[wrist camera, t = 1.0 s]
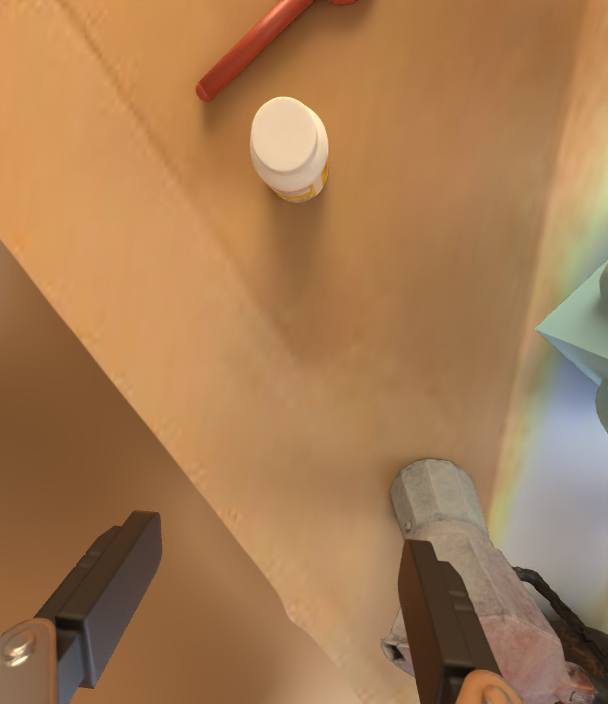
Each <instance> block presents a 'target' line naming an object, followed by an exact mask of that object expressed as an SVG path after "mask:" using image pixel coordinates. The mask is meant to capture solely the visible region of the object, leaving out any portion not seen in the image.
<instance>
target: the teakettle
mask: <svg viewBox="0 0 608 704" xmlns="http://www.w3.org/2000/svg"><path fill="white" fill-rule="evenodd" d="M535 330H536V331H537V332H539V333H540V334H541V335H542V336H543V337H544V338H545V339H546V340H547V341H549V342H550V343H551V344H552V345H553V346H554V347H555V348H556V349H558V350H559V351H560V352H561V353H562V354H563V355H564V356H565V357H566V358H568V359H569V360H570V361H571V362H572V363H573V364H574V365H575V366H577V367H578V368H579V369H580V370H581V371H582V372H583V373H584V374H586V375H587V376H588V377H589V378H590V379H591V380H592V381H593V382H595V383H596V384H597V385H598V386H599V389H598V391H597V396H596V400H595V401H596V410H597V414H598V417H599V419H600V422H601V423H602V425H603V427H604V428H605V430H606V431H607V433H608V260H607V261H606V262H605V263H604V264H602V265H601V266H600V267H599V268H598V269H597V270H596V271H595V272H594V273H593V274H592V275H591V276H590V277H589V278H588V279H587V280H585V281H584V282H583V283H582V284H581V285H580V286H579V287H578V288H577V289H576V290H575V291H574V292H573V293H572V294H571V295H570V296H569V297H567V298H566V299H565V300H564V301H563V302H562V303H561V304H560V305H559V306H558V307H557V308H556V309H555V310H554V311H553V312H551V313H550V314H549V315H548V316H547V317H546V318H545V319H544V320H543V321H542V322H541V323H540V324H539V325H538V326H537V327H536V328H535Z"/></svg>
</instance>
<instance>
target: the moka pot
mask: <svg viewBox="0 0 608 704" xmlns="http://www.w3.org/2000/svg"><path fill="white" fill-rule="evenodd" d="M390 497H391V500H392V504H393V507H394V511H395V514H396V518H397V521H398V524H399V527H400V530H401V533H402V536H403V539H404V542H405V539H415V540H425V541H430V542H431V543H432V545H433V548H434V551H435V553H436V556H437V559H438V561H448V562H450V564H451V565H452V566H453V567H454V568H455V570H456V571H457V572H458V573H459V574H460V576H461V577H462V579H463V582H464V584H465V586H466V589H467V591H468V594H469V598H470V599H471V601H472V603H473V606H474V608H475V613H477V616H478V618H479V621H480V623H481V625H482V628H483V630H484V633H485V635H486V638H487V640H488V643H489V645H490V647H491V650H492V652H493V655H494V657H495V660H496V662H497V664H498V667H499V669H500V672H501V674H502V676H503V677H504V679H506V680H507V681H508V682H509V683H510V684H511V685H513V686H514V687H515V688H516V690H517V691H518V692H519V693H520V694H521V696H522V697H523V699H524V700H525V702H526V704H554V703H555V702H557V701H561V702H562V703H564V704H608V648H607V647H606V646H604V645H603V644H602V643H601V640H600V639H598V638H597V636H596V635H595V634H594V633H593V632H592V631H591V630H590V629H589V628H588V627H586V626H585V625H584V624H583V622H582V621H581V620H580V619H579V618H578V616H577V615H576V614H574V613H573V612H572V611H571V609H570V608H569V607H568V606H566V605H565V604H564V603H563V602H562V601H561V600H560V598H559V596H558V595H557V593H556V592H554V591H553V590H552V589H550V587H549V585H548V584H547V583H546V582H545V581H544V580H543V579H542V577H541V576H540V575H539V574H538V573H537V572H535V571H533V570H530V569H523V568H520V567H512V566H510V564H509V563H508V561H507V560H506V558H505V557H504V555H503V554H502V552H501V551H500V550H498V549H497V548H495V547H494V545H493V543H492V542H491V540H490V537H489V533H488V529H487V526H486V523H485V519H484V516H483V512H482V509H481V505H480V502H479V499H478V495H477V492H476V488H475V484H474V481H473V479H472V477H471V476H470V475H469V474H468V473H466V472H465V471H464V470H463V469H461V468H460V467H459V466H457V465H456V464H454V463H453V462H450V461H446V460H437V459H425V460H421V461H417V462H415V463H412V464H410V465H408V466H406V467H405V468H403V469H402V470H401V471H400V472H399V473H398V475H397V476H396V478H395V479H394V481H393V484H392V487H391V489H390ZM521 581H525V582H528V583H530V584H531V585H533V586H534V588H535V589H536V590H537V591H538V592H539V593H540V594H541V595H542V596H544V597H545V598H546V599H547V600H548V601H549V602H550V605H551V606H552V608H553V609H554V610H555V612H556V613H557V614H558V615H559V616H560V618H561V619H563V620H564V621H565V622H566V623H567V624H568V626H569V627H570V629H571V630H572V632H573V633H574V634H575V635H577V636H578V637H579V639H580V641H581V642H582V644H583V645H584V646H585V647H586V648H587V649H588V650H589V651H590V652H592V653H593V654H594V655H595V657H596V658H597V659H598V661H599V662H600V663H601V665H602V666H603V673H602V674H601V675H599V676H597V675H595V674H593V673H590V672H588V671H587V670H585V669H584V668H582V667H581V666H579V665H577V664H574V663H571V662H567V661H565V659H564V653H563V648H562V645H561V642H560V639H559V638H558V636H557V635H556V633H555V632H554V630H553V629H552V627H551V626H550V624H549V622H548V621H547V619H546V618H545V616H544V615H543V613H542V612H541V610H540V609H539V607H538V606H537V604H536V603H535V601H534V600H533V598H532V597H531V595H530V594H529V593H528V591H527V590H526V588H525V587H524V585H523V584H522V582H521ZM381 647H382V649H383V651H384V654H385V656H386V657H387V658H388V659H389V660H390V661H392V662H393V663H395V665H396V666H397V667H398V668H400V669H402V670H403V671H405V672H407V673H408V674H410V675H412V676H414V677H415V674H414V669H413V664H412V659H411V654H410V649H409V644H408V640H407V635H406V630H405V625H404V620H403V615H402V610H401V606H400V609H399V611H398V614H397V617H396V620H395V622H394V625H393V627H392V630H391V632H390V635H389V636H388V637H386V638H384V639H381Z"/></svg>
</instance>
